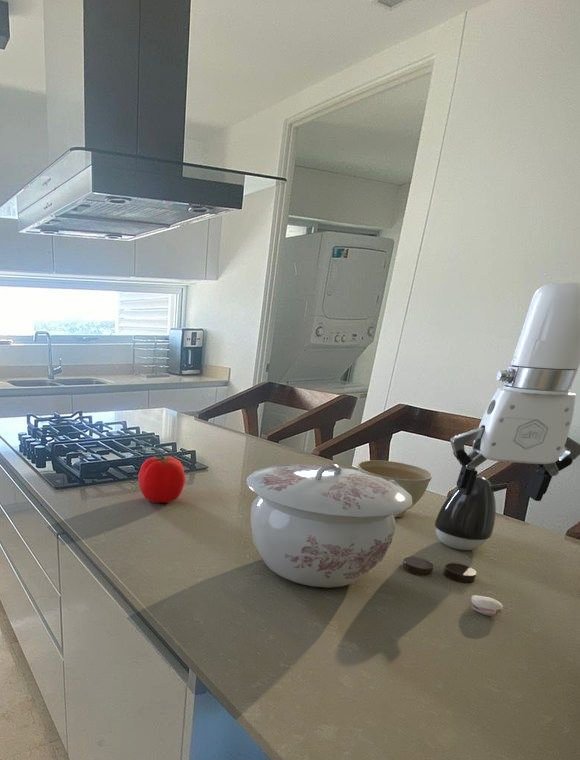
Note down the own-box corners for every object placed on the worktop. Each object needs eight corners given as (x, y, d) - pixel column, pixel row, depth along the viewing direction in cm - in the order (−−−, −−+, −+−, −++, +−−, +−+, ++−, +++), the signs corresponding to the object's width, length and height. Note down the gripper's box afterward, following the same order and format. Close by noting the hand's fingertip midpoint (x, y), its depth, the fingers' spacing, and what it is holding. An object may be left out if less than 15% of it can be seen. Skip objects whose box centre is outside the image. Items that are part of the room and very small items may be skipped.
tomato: (127, 501, 125) (128, 457, 120) (155, 488, 135) (156, 447, 130) (168, 511, 118) (170, 466, 114) (194, 497, 129) (197, 454, 124)
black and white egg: (493, 559, 98) (520, 487, 92) (435, 551, 101) (457, 481, 95) (478, 539, 107) (501, 472, 100) (425, 532, 110) (444, 467, 103)
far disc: (429, 566, 95) (431, 559, 94) (433, 577, 90) (435, 570, 90) (400, 561, 96) (402, 554, 96) (403, 572, 92) (405, 565, 91)
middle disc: (470, 572, 92) (472, 565, 92) (477, 585, 88) (479, 577, 88) (440, 568, 94) (442, 561, 93) (445, 579, 90) (448, 572, 89)
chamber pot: (223, 588, 85) (236, 475, 77) (248, 531, 109) (260, 439, 100) (400, 624, 76) (437, 500, 68) (386, 553, 100) (412, 454, 91)
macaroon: (479, 618, 78) (484, 605, 77) (459, 602, 83) (463, 589, 82) (505, 618, 78) (510, 605, 77) (483, 601, 83) (488, 589, 82)
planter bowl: (394, 528, 112) (406, 483, 107) (335, 506, 124) (344, 465, 120) (434, 516, 119) (446, 473, 115) (374, 496, 132) (384, 457, 127)
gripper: (482, 381, 67) (445, 498, 74) (628, 387, 64) (575, 509, 71) (460, 375, 73) (428, 483, 81) (591, 380, 70) (546, 492, 77)
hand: (497, 495), depth 76 cm, fingers open, 9 cm apart
